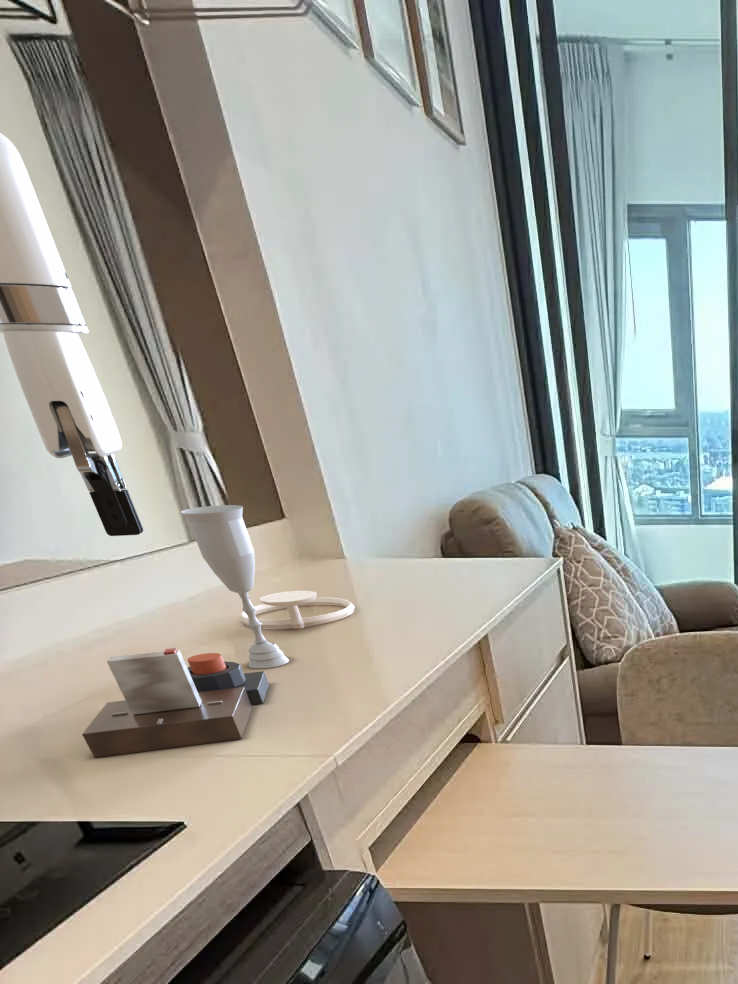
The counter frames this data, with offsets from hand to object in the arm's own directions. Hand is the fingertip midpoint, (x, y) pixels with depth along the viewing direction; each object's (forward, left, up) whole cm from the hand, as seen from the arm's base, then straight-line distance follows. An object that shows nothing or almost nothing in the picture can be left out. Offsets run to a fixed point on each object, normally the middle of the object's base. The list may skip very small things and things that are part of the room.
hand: (126, 533), depth 91 cm
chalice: (+7, +14, -18) cm, 24 cm away
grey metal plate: (0, -12, -15) cm, 19 cm away
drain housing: (+3, -1, -18) cm, 18 cm away
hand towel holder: (+9, +40, -18) cm, 45 cm away
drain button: (+3, -1, -15) cm, 15 cm away
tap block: (0, -12, -18) cm, 21 cm away
